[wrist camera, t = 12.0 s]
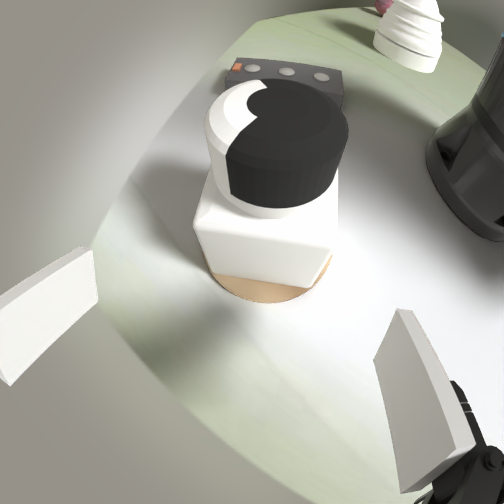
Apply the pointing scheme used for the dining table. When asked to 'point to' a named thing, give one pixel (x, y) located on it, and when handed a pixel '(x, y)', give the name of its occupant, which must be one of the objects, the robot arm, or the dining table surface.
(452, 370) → the dining table surface
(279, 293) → the coaster
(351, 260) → the dining table surface
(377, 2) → the vegetable
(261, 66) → the power strip
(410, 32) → the honey pot
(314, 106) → the medicine bottle
